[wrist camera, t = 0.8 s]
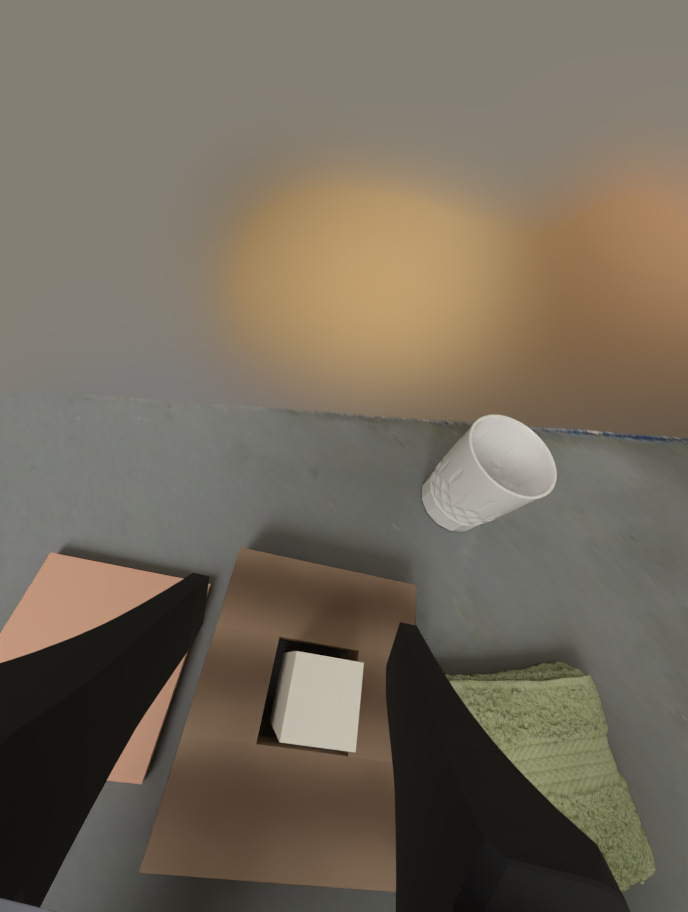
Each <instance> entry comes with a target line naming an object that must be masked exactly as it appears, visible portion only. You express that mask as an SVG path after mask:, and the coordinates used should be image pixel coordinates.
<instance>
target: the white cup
mask: <svg viewBox="0 0 688 912" xmlns="http://www.w3.org/2000/svg"><path fill="white" fill-rule="evenodd" d="M556 479H557V470H556V465H555V462H554V459H553V457H552V454H551V453H550V451H549V449H548V447H547V446H546V445H545V443H544V442H543V441H542V440H541V438H540V437H539V436H538V435H537V434H536V433H535V432H534V431H532V430H531V429H530V428H529V427H527V426H526V425H524V424H523V423H521V422H519V421H517V420H515V419H513V418H510V417H507V416H503V415H496V414H494V415H493V414H492V415H486V416H483V417H481V418H479V419H478V420H476V421H475V422H474V424H473V425H472V426H471V427H470V428H469V429H468V430H467V432H466V433H465V434H464V435H463V436H462V437H461V438H460V439H459V440H458V442H457V443H456V444H455V445H454V446H453V447H452V448H451V449H450V451H449V452H448V453H447V454H446V456H445V457H444V458H443V459H442V460H441V462H440V463H439V464H438V465H437V466H436V468H435V470H434V471H433V472H432V473H431V474H430V475H429V476H428V478H427V480H426V481H425V483H424V484H423V486H422V501H423V504H424V506H425V509H426V511H427V513H428V514H429V515H430V517H431V518H432V519H433V520H434V521H435V522H436V523H437V524H438V525H440V526H442V527H444V528H446V529H448V530H450V531H461V532H465V531H467V530H469V529H471V528H473V527H475V526H478V525H480V524H483V523H487V522H489V521H492V520H494V519H496V518H498V517H501V516H503V515H506V514H508V513H510V512H512V511H514V510H516V509H519V508H521V507H523V506H525V505H527V504H529V503H531V502H533V501H536V500H538V499H540V498H542V497H544V496H546V495H548V494H549V493H550V492H551V491H552V490H553V488H554V486H555V484H556Z"/></svg>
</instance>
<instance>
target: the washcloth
mask: <svg viewBox="0 0 688 912" xmlns="http://www.w3.org/2000/svg"><path fill="white" fill-rule="evenodd" d="M445 676H446V677H447V679H448V680H449V682H450V683H451V685H452V687H453V688H454V690H455V691H456V692H457V694H458V695H459V697H460V698H461V700H462V701H463V703H464V704H465V705H466V707H467V708H468V710H469V711H470V712H471V714H472V715H473V716H474V718H475V719H476V720H477V721H478V723H479V724H480V725H481V726H482V728H483V729H484V730H485V732H486V733H487V734H488V735H489V737H490V738H491V739H492V740H493V741H494V743H495V744H496V745H497V746H498V747H499V748H500V750H501V751H502V752H503V753H504V754H505V755H506V756H507V757H508V759H509V760H510V761H511V762H512V763H513V764H514V765H515V766H516V767H517V769H518V770H519V771H520V772H521V773H522V774H523V775H524V776H525V777H526V778H527V779H528V780H529V781H530V782H531V783H532V784H533V785H534V786H535V787H536V788H537V789H538V790H539V791H540V792H541V793H542V794H543V795H544V796H545V797H546V798H547V799H548V800H549V801H550V802H551V803H552V804H553V805H554V806H555V807H556V808H557V809H558V810H559V811H560V812H561V813H563V814H564V815H565V816H566V817H567V818H568V819H569V820H570V821H571V822H573V823H574V824H575V825H576V826H577V827H578V828H579V829H580V830H581V831H582V832H584V833H585V834H586V835H587V836H588V837H589V838H590V839H591V840H592V841H594V842H595V843H596V844H597V845H598V847H599V849H600V851H601V853H602V854H603V856H604V858H605V860H606V862H607V864H608V866H609V868H610V870H611V872H612V874H613V876H614V878H615V880H616V882H617V884H618V886H619V888H620V890H621V892H623V891H626V890H629V889H630V886H632V885H634V884H635V883H637V882H639V883H640V884H642V885H643V884H644V881H645V880H646V879H648V878H649V876H652V875H654V872H655V861H654V856H653V853H652V850H651V847H650V844H649V842H648V839H647V837H646V833H645V831H644V830H643V828H642V826H641V824H640V822H641V820H640V817H639V816H638V815H637V813H636V812H635V810H636V807H635V805H634V802H633V801H632V798H631V797H630V794H629V791H628V785H627V783H626V781H625V779H624V778H623V777H622V776H621V775H620V774H619V772H618V770H617V766H616V763H615V760H614V758H613V755H612V752H611V749H610V747H609V744H608V739H607V735H606V733H607V732H608V726H607V724H606V722H605V719H606V718H605V715H604V712H603V709H602V707H601V700H600V696H599V694H598V693H597V690H596V685H595V683H594V682H593V680H592V678H591V676H590V675H588V674H585V673H583V672H582V671H581V670H580V669H576V668H573V667H571V666H570V665H568V664H565V663H563V662H556V663H555V664H552V663H550V664H549V663H547V664H545V663H544V662H543V663H542V664H540V665H539V664H538V667H535V666H532V667H529V668H526V669H524V670H511V671H506V672H503V671H501V672H499V673H495V674H484V675H481V674H479V675H478V674H475V675H474V674H473V675H472V677H470V676H469V675H467V676H465V675H462V674H460V675H459V674H458V675H452V676H451V675H450V674H445Z"/></svg>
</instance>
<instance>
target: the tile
mask: <svg viewBox="0 0 688 912" xmlns="http://www.w3.org/2000/svg"><path fill="white" fill-rule="evenodd" d="M182 579H183V578H178V577H173V576H168V575H163V574H157V573H152V572H147V571H142V570H137V569H132V568H127V567H122V566H117V565H112V564H107V563H102V562H96V561H91V560H86V559H81V558H76V557H71V556H66V555H61V554H56V553H50V554H49V556H48V558H47V559H46V561H45V562H44V564H43V566H42V567H41V569H40V571H39V572H38V574H37V575H36V577H35V579H34V580H33V582H32V583H31V585H30V587H29V588H28V590H27V591H26V593H25V595H24V596H23V598H22V600H21V601H20V603H19V604H18V606H17V608H16V609H15V611H14V612H13V614H12V616H11V617H10V619H9V620H8V622H7V624H6V625H5V627H4V628H3V630H2V632H1V633H0V663H2V662H5V661H8V660H12V659H15V658H18V657H21V656H24V655H27V654H30V653H33V652H36V651H38V650H41V649H44V648H46V647H49V646H51V645H54V644H57V643H59V642H62V641H65V640H67V639H70V638H72V637H75V636H77V635H80V634H82V633H84V632H86V631H89V630H91V629H93V628H96V627H98V626H100V625H102V624H104V623H106V622H108V621H110V620H112V619H114V618H116V617H118V616H120V615H122V614H124V613H126V612H128V611H129V610H131V609H133V608H135V607H137V606H139V605H141V604H142V603H144V602H146V601H147V600H149V599H151V598H153V597H154V596H156V595H158V594H159V593H161V592H163V591H164V590H166V589H168V588H169V587H171V586H173V585H174V584H176V583H178V582H179V581H181V580H182ZM210 587H211V585H210V584H208V591H207V596H208V593H209V590H210ZM206 599H207V598H206ZM189 649H190V648H189ZM188 652H189V650H188ZM188 652H187V653H186V655H185V656H184V658H183V659H182V661H181V662H180V664H179V665H178V667H177V668H176V669H175V671H174V672H173V674H172V675H171V677H170V678H169V680H168V681H167V683H166V684H165V686H164V687H163V689H162V690H161V691H160V693H159V694H158V696H157V697H156V699H155V700H154V702H153V703H152V705H151V706H150V708H149V709H148V711H147V712H146V713H145V715H144V717H143V718H142V720H141V721H140V723H139V725H138V726H137V728H136V729H135V731H134V733H133V735H132V736H131V738H130V740H129V742H128V743H127V745H126V747H125V749H124V750H123V752H122V754H121V756H120V757H119V759H118V761H117V763H116V764H115V766H114V768H113V770H112V772H111V774H110V775H109V777H108V779H107V781H116V782H125V783H134V784H142V783H143V782H144V781H145V778H146V775H147V772H148V769H149V767H150V764H151V761H152V758H153V755H154V752H155V749H156V746H157V743H158V740H159V737H160V734H161V731H162V728H163V725H164V722H165V720H166V717H167V714H168V711H169V708H170V705H171V702H172V699H173V696H174V693H175V690H176V687H177V684H178V681H179V678H180V675H181V673H182V670H183V667H184V664H185V661H186V658H187V655H188Z"/></svg>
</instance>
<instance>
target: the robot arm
mask: <svg viewBox="0 0 688 912" xmlns="http://www.w3.org/2000/svg"><path fill="white" fill-rule="evenodd" d="M208 584H209V577H208V576H204V575H200V574H196V573H193V574H191V575H189V576H188V577H186V578H184V579H182V580H181V581H179V582H178V583H176V584H174V585H173V586H171V587H169V588H168V589H166V590H164V591H163V592H161V593H159V594H158V595H156V596H154V597H153V598H151V599H149V600H147V601H146V602H144V603H142V604H141V605H139V606H137V607H135V608H133V609H131V610H129V611H128V612H126V613H124V614H122V615H120V616H118V617H116V618H114V619H112V620H110V621H108V622H106V623H104V624H102V625H100V626H98V627H96V628H93V629H91V630H89V631H86V632H84V633H82V634H80V635H77V636H75V637H72V638H70V639H67V640H65V641H62V642H59V643H57V644H54V645H51V646H49V647H46V648H44V649H41V650H38V651H36V652H33V653H30V654H27V655H24V656H21V657H18V658H15V659H12V660H8V661H5V662H2V663H0V912H56V911H52V910H47V909H43V908H40V906H41V904H42V902H43V900H44V898H45V896H46V894H47V892H48V890H49V888H50V886H51V884H52V883H53V881H54V879H55V877H56V875H57V873H58V871H59V869H60V867H61V865H62V863H63V861H64V859H65V857H66V855H67V853H68V851H69V850H70V848H71V846H72V844H73V842H74V840H75V838H76V836H77V834H78V833H79V831H80V829H81V827H82V825H83V823H84V821H85V819H86V818H87V816H88V814H89V812H90V810H91V808H92V806H93V804H94V803H95V801H96V799H97V797H98V795H99V793H100V792H101V790H102V788H103V786H104V784H105V783H106V781H107V779H108V777H109V775H110V774H111V772H112V770H113V768H114V766H115V764H116V763H117V761H118V759H119V757H120V756H121V754H122V752H123V750H124V749H125V747H126V745H127V743H128V742H129V740H130V738H131V736H132V735H133V733H134V731H135V729H136V728H137V726H138V725H139V723H140V721H141V720H142V718H143V717H144V715H145V713H146V712H147V711H148V709H149V708H150V706H151V705H152V703H153V702H154V700H155V699H156V697H157V696H158V694H159V693H160V691H161V690H162V689H163V687H164V686H165V684H166V683H167V681H168V680H169V678H170V677H171V675H172V674H173V672H174V671H175V669H176V668H177V667H178V665H179V664H180V662H181V661H182V659H183V658H184V656H185V655H186V653H187V652H188V650H189V648H190V646H191V645H192V643H193V641H194V639H195V637H196V635H197V633H198V631H199V629H200V627H201V626H202V624H203V619H204V612H205V605H206V598H207V591H208ZM386 705H387V715H388V725H389V735H390V744H391V754H392V764H393V774H394V788H395V827H396V912H630V910H629V908H628V905H627V903H626V901H625V899H624V896H623V894H622V892H621V890H620V888H619V886H618V884H617V882H616V880H615V878H614V876H613V874H612V872H611V870H610V868H609V866H608V864H607V862H606V860H605V858H604V856H603V854H602V853H601V851H600V849H599V847H598V845H597V844H596V843H595V842H594V841H592V840H591V839H590V838H589V837H588V836H587V835H586V834H585V833H584V832H582V831H581V830H580V829H579V828H578V827H577V826H576V825H575V824H574V823H573V822H571V821H570V820H569V819H568V818H567V817H566V816H565V815H564V814H563V813H561V812H560V811H559V810H558V809H557V808H556V807H555V806H554V805H553V804H552V803H551V802H550V801H549V800H548V799H547V798H546V797H545V796H544V795H543V794H542V793H541V792H540V791H539V790H538V789H537V788H536V787H535V786H534V785H533V784H532V783H531V782H530V781H529V780H528V779H527V778H526V777H525V776H524V775H523V774H522V773H521V772H520V771H519V770H518V769H517V767H516V766H515V765H514V764H513V763H512V762H511V761H510V760H509V759H508V757H507V756H506V755H505V754H504V753H503V752H502V751H501V750H500V748H499V747H498V746H497V745H496V744H495V743H494V741H493V740H492V739H491V738H490V737H489V735H488V734H487V733H486V732H485V730H484V729H483V728H482V726H481V725H480V724H479V723H478V721H477V720H476V719H475V718H474V716H473V715H472V714H471V712H470V711H469V710H468V708H467V707H466V705H465V704H464V703H463V701H462V700H461V698H460V697H459V695H458V694H457V692H456V691H455V690H454V688H453V687H452V685H451V683H450V682H449V680H448V679H447V677H446V676H445V674H444V672H443V671H442V669H441V667H440V666H439V664H438V662H437V661H436V659H435V657H434V656H433V654H432V652H431V650H430V649H429V647H428V645H427V643H426V642H425V640H424V638H423V636H422V635H421V633H420V631H419V629H418V628H417V626H416V625H411V624H407V623H403V622H400V623H399V627H398V630H397V633H396V636H395V639H394V642H393V645H392V649H391V652H390V655H389V658H388V661H387V664H386Z"/></svg>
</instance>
